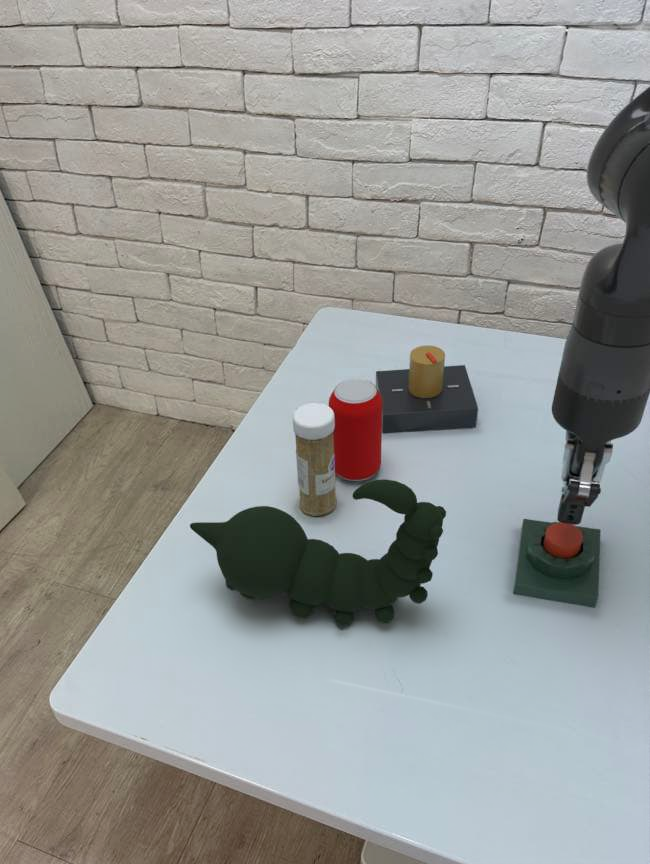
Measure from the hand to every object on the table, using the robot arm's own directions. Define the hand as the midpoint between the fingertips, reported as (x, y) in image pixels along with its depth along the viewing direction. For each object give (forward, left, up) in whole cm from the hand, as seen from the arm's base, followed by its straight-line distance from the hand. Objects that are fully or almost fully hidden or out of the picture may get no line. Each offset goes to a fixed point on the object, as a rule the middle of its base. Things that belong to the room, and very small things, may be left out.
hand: (568, 518), depth 80 cm
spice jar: (+25, -12, -7) cm, 29 cm away
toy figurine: (+26, +3, -7) cm, 27 cm away
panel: (+10, -30, -7) cm, 33 cm away
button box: (0, 0, -7) cm, 7 cm away
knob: (+10, -30, -4) cm, 32 cm away
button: (0, 0, -4) cm, 4 cm away
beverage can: (+20, -18, -7) cm, 28 cm away
